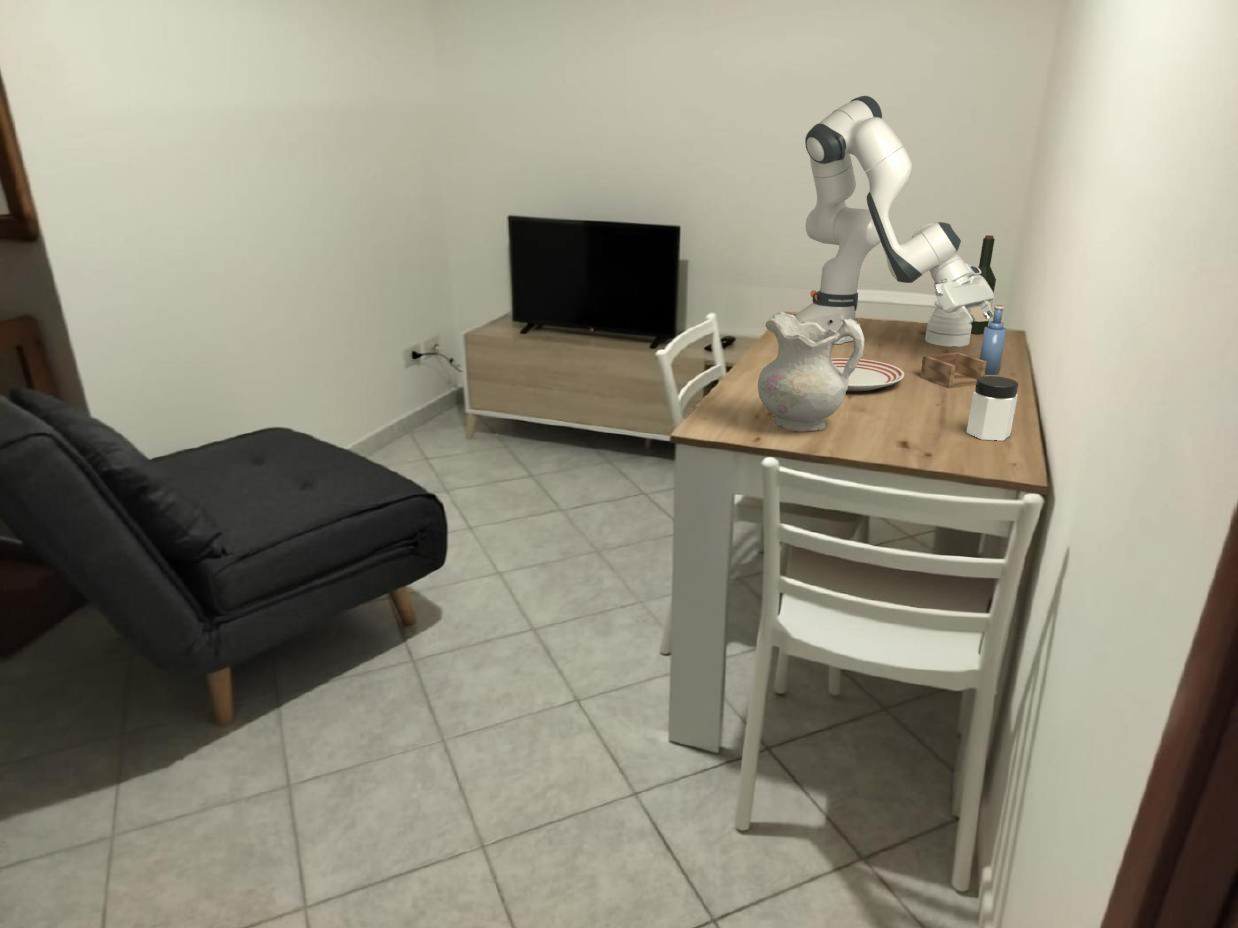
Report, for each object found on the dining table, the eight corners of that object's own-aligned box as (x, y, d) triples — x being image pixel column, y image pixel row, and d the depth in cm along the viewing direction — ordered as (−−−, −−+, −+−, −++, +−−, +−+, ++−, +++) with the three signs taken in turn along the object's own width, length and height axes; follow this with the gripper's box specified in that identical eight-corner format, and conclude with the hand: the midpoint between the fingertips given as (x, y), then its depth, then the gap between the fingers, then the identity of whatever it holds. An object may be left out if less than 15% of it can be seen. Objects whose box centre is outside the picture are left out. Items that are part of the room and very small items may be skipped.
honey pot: (916, 339, 258) (924, 281, 251) (942, 334, 265) (951, 277, 258) (951, 348, 248) (960, 288, 241) (978, 342, 255) (988, 283, 248)
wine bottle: (983, 328, 272) (999, 234, 260) (991, 334, 264) (1008, 237, 252) (956, 328, 272) (971, 234, 261) (964, 334, 265) (979, 237, 253)
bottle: (980, 374, 223) (992, 307, 216) (974, 369, 228) (985, 303, 221) (1001, 375, 222) (1013, 308, 215) (995, 369, 227) (1006, 304, 220)
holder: (982, 383, 215) (986, 361, 213) (948, 388, 211) (951, 366, 209) (953, 372, 224) (957, 352, 222) (920, 377, 220) (923, 356, 218)
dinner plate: (774, 382, 217) (775, 370, 216) (827, 362, 235) (828, 350, 234) (871, 405, 200) (873, 392, 198) (920, 380, 218) (922, 368, 217)
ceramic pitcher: (852, 419, 193) (863, 311, 185) (855, 442, 175) (868, 323, 167) (758, 413, 197) (765, 307, 190) (752, 434, 179) (759, 318, 172)
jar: (975, 425, 186) (984, 373, 181) (1013, 433, 181) (1024, 380, 176) (961, 435, 180) (970, 382, 175) (1000, 444, 175) (1011, 389, 170)
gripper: (940, 274, 217) (969, 318, 213) (982, 267, 228) (1010, 308, 225) (922, 289, 222) (950, 332, 218) (964, 281, 233) (991, 321, 230)
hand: (981, 320), depth 222 cm, fingers open, 8 cm apart
